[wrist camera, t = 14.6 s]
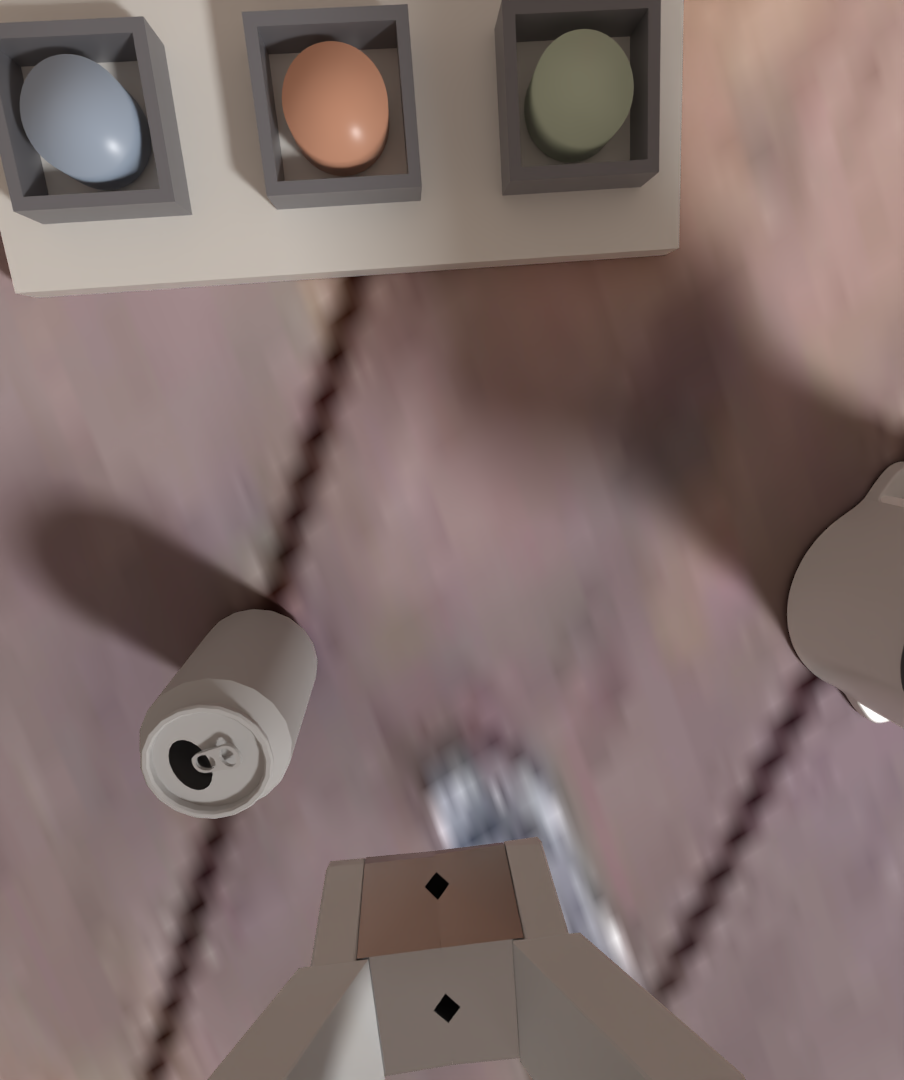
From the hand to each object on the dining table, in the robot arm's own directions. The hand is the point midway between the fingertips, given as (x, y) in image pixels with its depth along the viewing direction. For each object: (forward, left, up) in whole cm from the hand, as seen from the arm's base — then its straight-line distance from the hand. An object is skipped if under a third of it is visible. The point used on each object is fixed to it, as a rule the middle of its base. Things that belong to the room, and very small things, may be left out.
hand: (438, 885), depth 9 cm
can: (+11, +10, -31) cm, 35 cm away
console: (+2, -20, -31) cm, 37 cm away
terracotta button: (+2, -20, -29) cm, 35 cm away
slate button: (+14, -20, -29) cm, 38 cm away
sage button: (-10, -20, -29) cm, 36 cm away
